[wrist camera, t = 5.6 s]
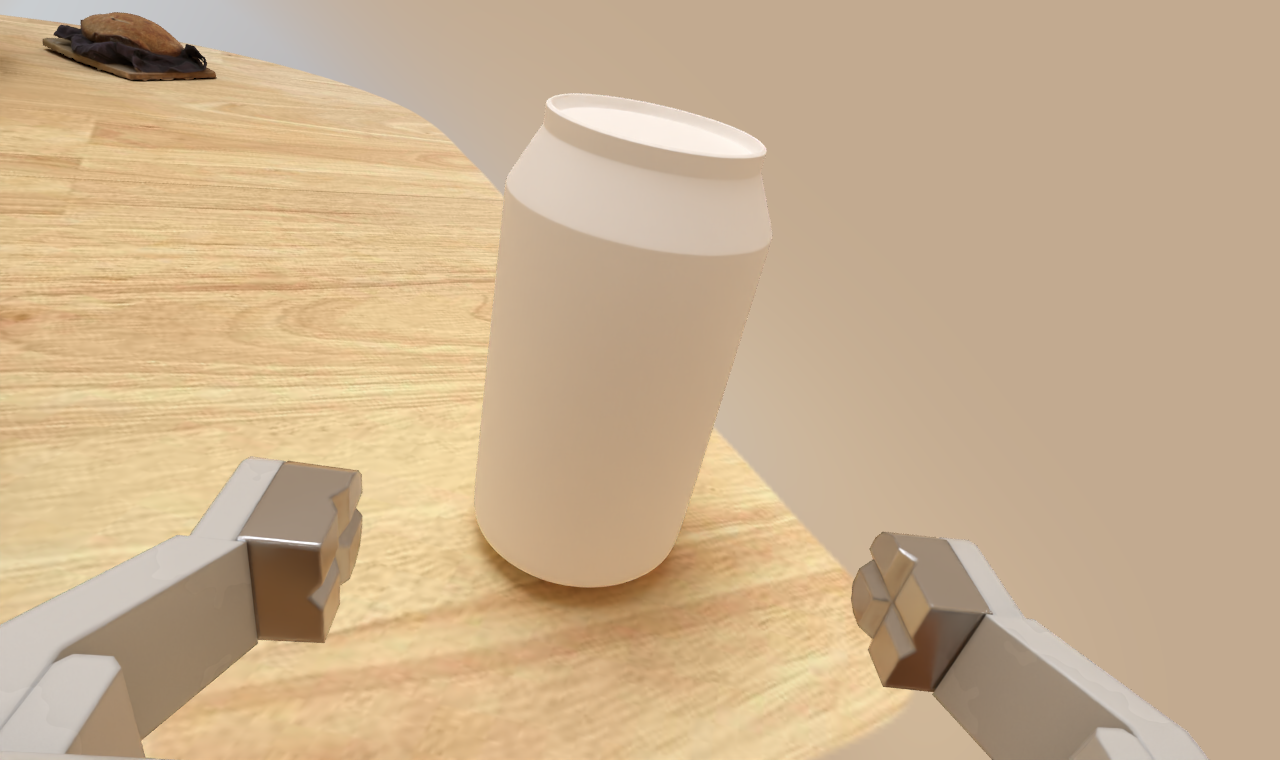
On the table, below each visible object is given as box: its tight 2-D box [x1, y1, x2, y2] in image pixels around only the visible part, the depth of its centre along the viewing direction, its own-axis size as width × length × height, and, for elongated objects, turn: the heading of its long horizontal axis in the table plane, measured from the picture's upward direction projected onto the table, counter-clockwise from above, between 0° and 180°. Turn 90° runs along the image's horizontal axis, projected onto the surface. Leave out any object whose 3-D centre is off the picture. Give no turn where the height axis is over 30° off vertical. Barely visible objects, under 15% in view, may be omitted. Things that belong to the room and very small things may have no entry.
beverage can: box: [474, 94, 772, 587], centre depth 18 cm, size 6×6×12 cm
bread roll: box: [43, 12, 216, 81], centre depth 56 cm, size 11×8×4 cm
